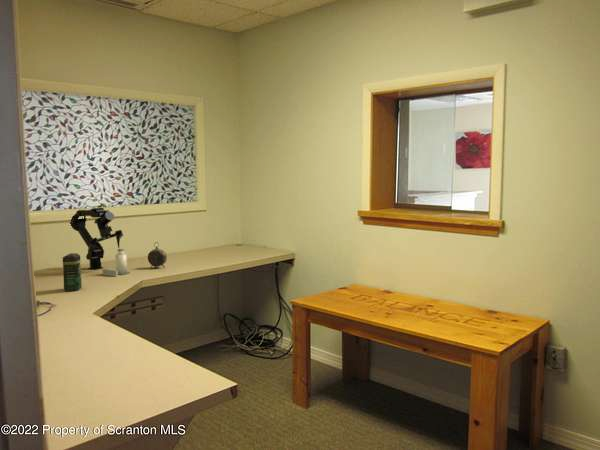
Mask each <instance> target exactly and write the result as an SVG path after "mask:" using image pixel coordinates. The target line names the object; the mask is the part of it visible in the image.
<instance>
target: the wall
mask: <svg viewBox="0 0 600 450" xmlns="http://www.w3.org/2000/svg"><path fill="white" fill-rule="evenodd" d="M101 269H102V270H101V271H102V276H108V277H115V278H116V277H118V276H119V275H118V270H116V269H111V268H110V269H109V268H101Z"/></svg>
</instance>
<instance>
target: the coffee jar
mask: <svg viewBox="0 0 600 450" xmlns="http://www.w3.org/2000/svg"><path fill="white" fill-rule="evenodd" d="M81 261H82V260H81V255H80V254H79V253H78V252H77V253H73V252H71V253H69V254H66V255H65V256H63V257H62V267H63V268H62V269H63V271H62V272H63V290H64V291H66V292H74V291H79V290H81V289H82V286H83V285H82V271H81V270H82V269H81V265H82V264H81Z"/></svg>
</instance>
